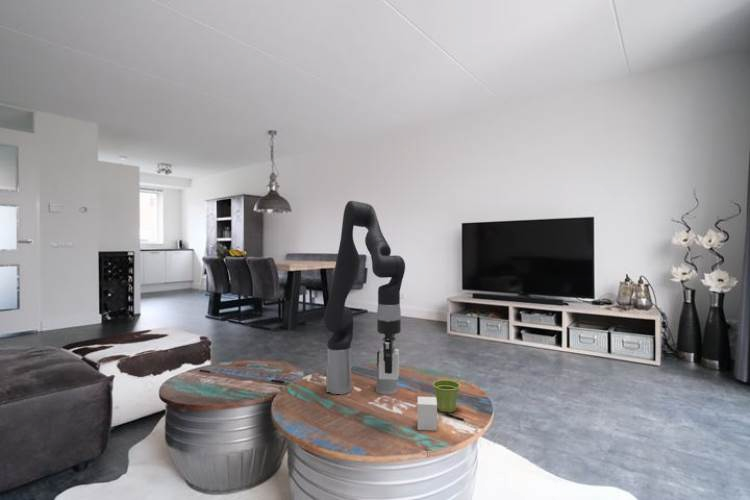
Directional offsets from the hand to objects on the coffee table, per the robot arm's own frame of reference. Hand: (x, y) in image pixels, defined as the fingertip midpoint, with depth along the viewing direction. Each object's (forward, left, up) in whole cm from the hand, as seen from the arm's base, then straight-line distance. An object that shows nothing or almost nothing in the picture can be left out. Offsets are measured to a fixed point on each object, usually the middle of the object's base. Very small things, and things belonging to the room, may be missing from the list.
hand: (389, 369), depth 121 cm
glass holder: (-3, +31, -18) cm, 36 cm away
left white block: (0, 0, -2) cm, 2 cm away
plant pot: (+19, +13, -18) cm, 29 cm away
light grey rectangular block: (+12, 0, -18) cm, 21 cm away
